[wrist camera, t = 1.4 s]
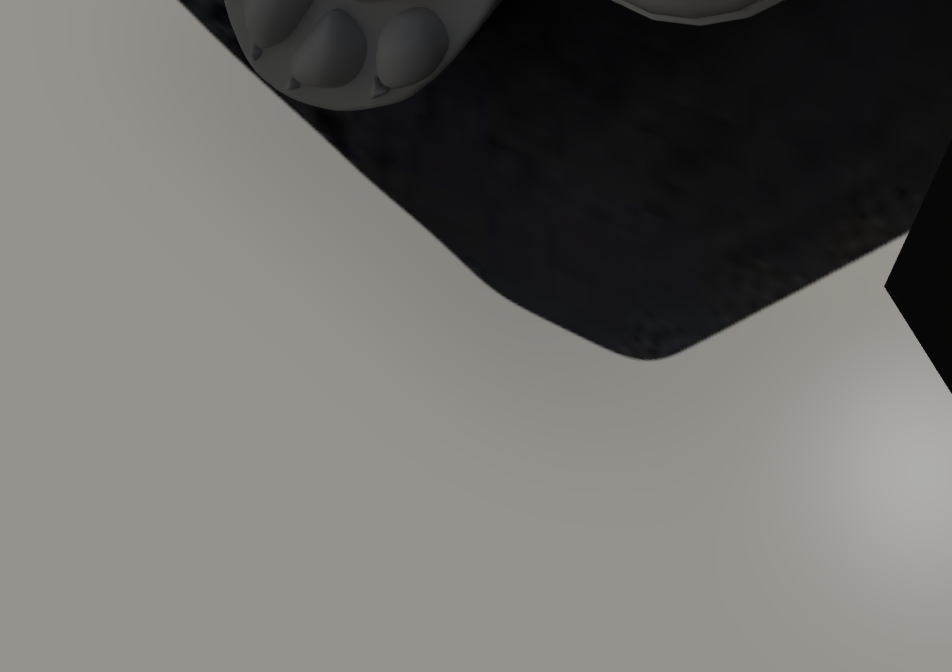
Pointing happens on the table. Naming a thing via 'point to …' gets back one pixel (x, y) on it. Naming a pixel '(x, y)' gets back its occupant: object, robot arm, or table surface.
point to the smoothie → (697, 10)
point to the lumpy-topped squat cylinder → (354, 45)
